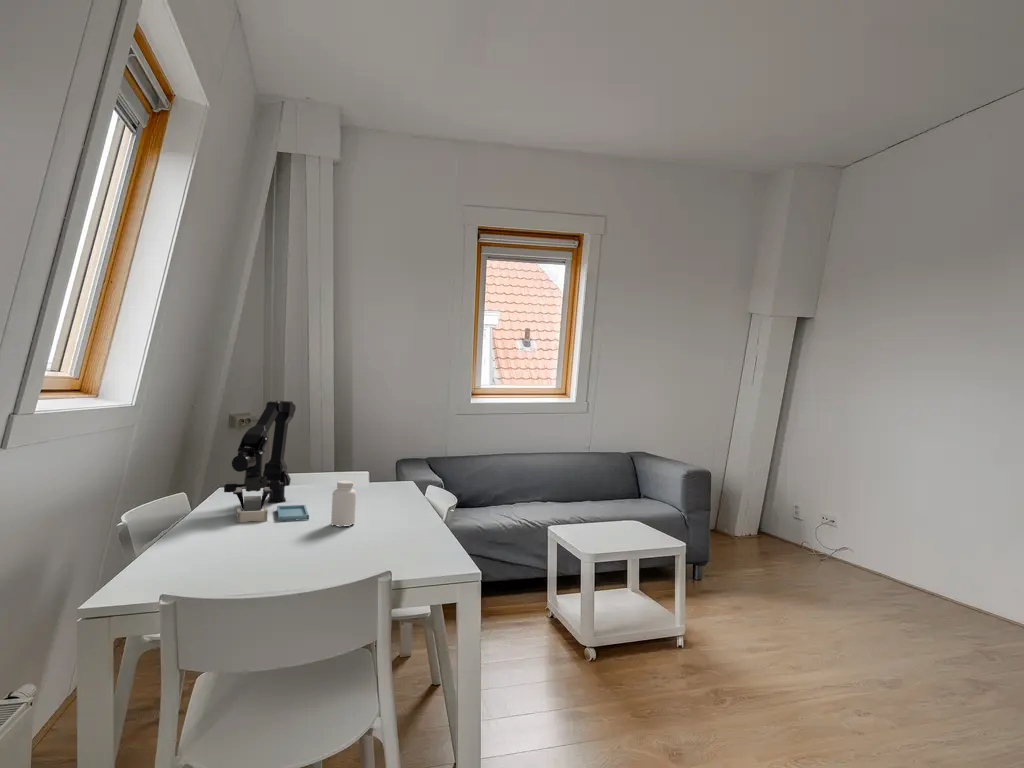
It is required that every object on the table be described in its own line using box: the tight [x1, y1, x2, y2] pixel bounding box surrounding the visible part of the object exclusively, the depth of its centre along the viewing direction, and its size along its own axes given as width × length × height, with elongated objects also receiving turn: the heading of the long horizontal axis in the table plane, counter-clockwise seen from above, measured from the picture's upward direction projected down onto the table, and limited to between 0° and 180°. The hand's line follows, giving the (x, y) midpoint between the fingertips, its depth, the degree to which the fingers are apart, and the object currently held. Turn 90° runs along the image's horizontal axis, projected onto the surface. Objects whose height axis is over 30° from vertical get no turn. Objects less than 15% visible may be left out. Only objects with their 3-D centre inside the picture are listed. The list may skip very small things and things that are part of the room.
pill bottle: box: [330, 480, 357, 526], centre depth 207 cm, size 8×8×15 cm
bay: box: [236, 504, 269, 523], centre depth 208 cm, size 8×10×4 cm
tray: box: [276, 504, 310, 522], centre depth 216 cm, size 15×10×2 cm, turn 24°
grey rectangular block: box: [243, 495, 262, 511], centre depth 217 cm, size 12×6×6 cm, turn 25°
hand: (252, 509), depth 215 cm, fingers closed on grey rectangular block, 6 cm apart
